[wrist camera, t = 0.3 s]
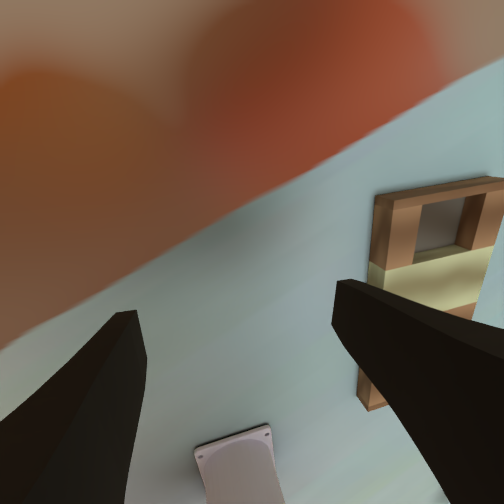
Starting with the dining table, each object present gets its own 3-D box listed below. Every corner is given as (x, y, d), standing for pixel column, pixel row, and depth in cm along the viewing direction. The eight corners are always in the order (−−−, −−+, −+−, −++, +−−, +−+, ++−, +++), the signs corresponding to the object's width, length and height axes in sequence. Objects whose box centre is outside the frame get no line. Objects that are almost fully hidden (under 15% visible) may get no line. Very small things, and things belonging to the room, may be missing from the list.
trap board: (436, 369, 32) (451, 382, 30) (356, 395, 30) (367, 411, 28) (487, 176, 22) (514, 179, 20) (375, 195, 20) (394, 200, 18)
